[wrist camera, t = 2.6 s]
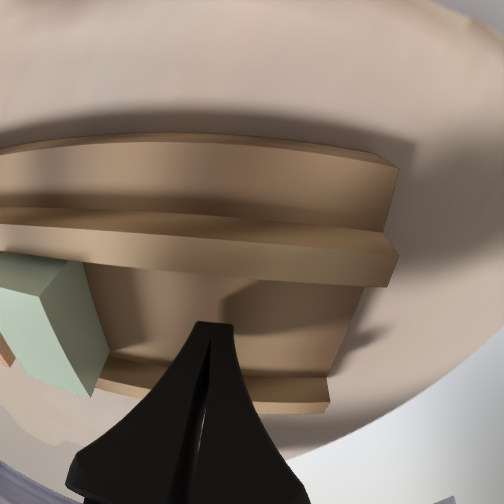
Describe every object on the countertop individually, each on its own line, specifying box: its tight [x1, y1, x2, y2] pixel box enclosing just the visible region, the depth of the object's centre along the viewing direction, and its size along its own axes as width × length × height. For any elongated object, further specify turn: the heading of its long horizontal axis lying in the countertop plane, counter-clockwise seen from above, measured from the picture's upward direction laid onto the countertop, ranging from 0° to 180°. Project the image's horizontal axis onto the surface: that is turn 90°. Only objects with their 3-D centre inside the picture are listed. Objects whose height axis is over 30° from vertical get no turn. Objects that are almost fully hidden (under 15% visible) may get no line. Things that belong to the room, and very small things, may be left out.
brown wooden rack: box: [0, 133, 399, 414], centre depth 12 cm, size 24×14×4 cm, turn 85°
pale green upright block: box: [0, 251, 110, 398], centre depth 10 cm, size 4×6×3 cm, turn 175°
